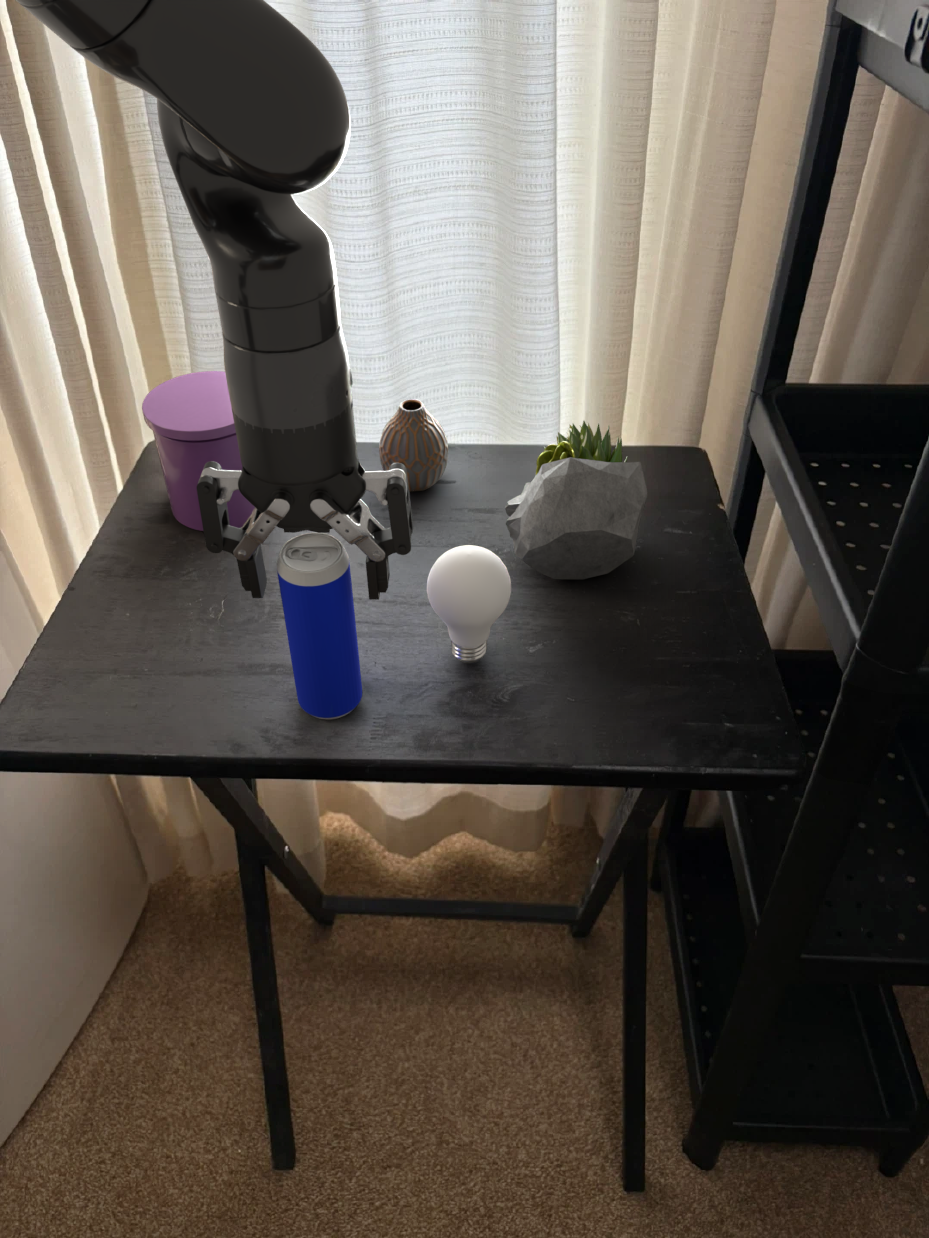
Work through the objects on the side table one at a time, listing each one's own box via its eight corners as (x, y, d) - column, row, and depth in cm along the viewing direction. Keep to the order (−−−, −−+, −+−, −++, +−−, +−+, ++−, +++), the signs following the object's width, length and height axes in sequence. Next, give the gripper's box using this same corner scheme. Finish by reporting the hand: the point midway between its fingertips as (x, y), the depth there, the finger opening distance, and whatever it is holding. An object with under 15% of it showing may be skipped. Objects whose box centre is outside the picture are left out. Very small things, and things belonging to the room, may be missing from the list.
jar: (154, 534, 99) (127, 431, 91) (180, 470, 107) (157, 370, 100) (268, 535, 99) (251, 431, 91) (285, 471, 107) (271, 371, 99)
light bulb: (473, 620, 90) (473, 517, 82) (525, 660, 86) (530, 557, 78) (413, 654, 86) (407, 551, 79) (464, 698, 83) (463, 593, 75)
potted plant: (482, 567, 90) (475, 438, 98) (583, 617, 97) (569, 492, 105) (584, 499, 82) (568, 365, 90) (685, 558, 89) (662, 429, 98)
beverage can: (367, 679, 84) (354, 532, 74) (356, 725, 80) (340, 577, 70) (305, 674, 85) (284, 528, 75) (291, 721, 81) (266, 573, 71)
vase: (462, 479, 106) (462, 404, 100) (414, 508, 102) (411, 431, 96) (415, 454, 109) (412, 380, 103) (367, 481, 106) (361, 406, 100)
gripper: (162, 424, 62) (210, 626, 72) (401, 425, 61) (412, 627, 72) (190, 363, 67) (230, 559, 78) (409, 364, 67) (418, 560, 78)
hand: (318, 591), depth 75 cm, fingers open, 8 cm apart
